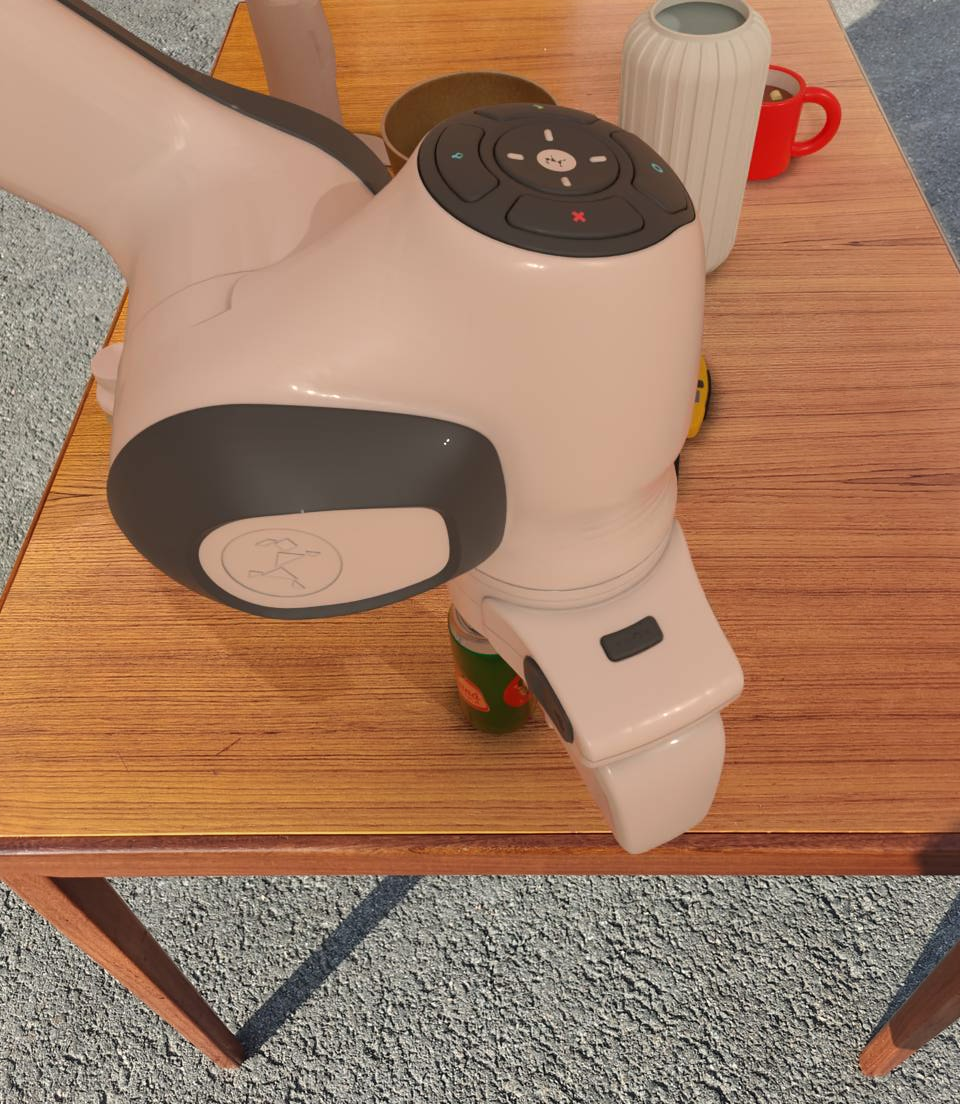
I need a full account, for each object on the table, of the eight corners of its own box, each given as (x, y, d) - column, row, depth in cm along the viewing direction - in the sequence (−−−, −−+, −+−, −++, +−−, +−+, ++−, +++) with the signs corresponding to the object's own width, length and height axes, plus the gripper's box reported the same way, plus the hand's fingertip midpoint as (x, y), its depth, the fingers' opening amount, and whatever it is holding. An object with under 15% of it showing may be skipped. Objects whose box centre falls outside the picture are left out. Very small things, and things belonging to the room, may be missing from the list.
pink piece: (399, 174, 99) (371, -30, 83) (275, 169, 101) (224, -32, 85) (412, 137, 103) (388, -65, 87) (293, 133, 105) (248, -65, 89)
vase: (740, 293, 85) (792, 44, 67) (614, 299, 85) (632, 53, 67) (720, 218, 92) (763, -27, 74) (603, 224, 92) (618, -18, 74)
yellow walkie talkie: (714, 348, 78) (707, 482, 70) (711, 365, 80) (704, 499, 71) (656, 343, 79) (642, 476, 70) (654, 360, 80) (640, 492, 72)
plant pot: (379, 261, 91) (352, 102, 78) (513, 213, 94) (508, 52, 81) (445, 351, 82) (428, 189, 70) (589, 295, 86) (598, 131, 73)
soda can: (450, 685, 63) (433, 587, 53) (519, 660, 64) (515, 559, 54) (476, 749, 60) (463, 659, 50) (548, 722, 61) (549, 628, 51)
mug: (835, 179, 94) (857, 103, 88) (715, 180, 95) (728, 105, 89) (824, 136, 99) (843, 62, 93) (710, 138, 100) (721, 64, 94)
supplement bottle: (173, 414, 80) (133, 325, 72) (205, 449, 77) (166, 360, 69) (117, 446, 78) (68, 358, 70) (147, 483, 75) (100, 396, 67)
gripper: (380, 397, 41) (416, 574, 52) (611, 797, 30) (594, 913, 41) (508, 350, 42) (516, 532, 53) (776, 716, 31) (716, 850, 42)
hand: (551, 700), depth 47 cm, fingers closed
